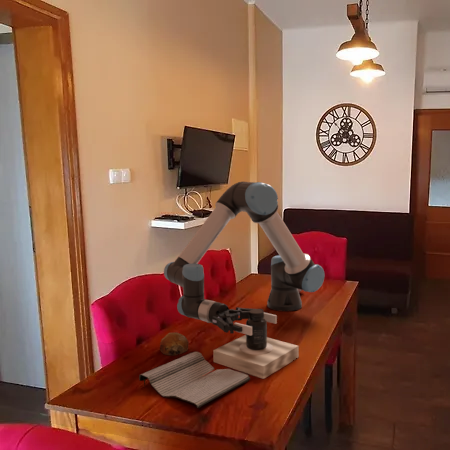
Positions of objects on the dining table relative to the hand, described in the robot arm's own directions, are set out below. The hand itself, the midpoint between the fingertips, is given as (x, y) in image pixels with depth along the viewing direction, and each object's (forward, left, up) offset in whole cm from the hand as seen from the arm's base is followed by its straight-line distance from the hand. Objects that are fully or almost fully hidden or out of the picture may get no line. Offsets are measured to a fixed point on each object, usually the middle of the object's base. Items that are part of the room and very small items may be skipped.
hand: (264, 325), depth 158 cm
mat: (+25, -7, -13) cm, 29 cm away
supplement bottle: (0, -3, -8) cm, 9 cm away
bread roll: (+11, -31, -13) cm, 35 cm away
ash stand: (0, -3, -12) cm, 13 cm away
